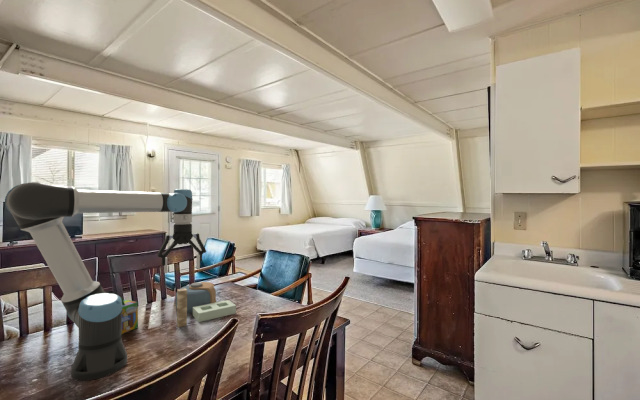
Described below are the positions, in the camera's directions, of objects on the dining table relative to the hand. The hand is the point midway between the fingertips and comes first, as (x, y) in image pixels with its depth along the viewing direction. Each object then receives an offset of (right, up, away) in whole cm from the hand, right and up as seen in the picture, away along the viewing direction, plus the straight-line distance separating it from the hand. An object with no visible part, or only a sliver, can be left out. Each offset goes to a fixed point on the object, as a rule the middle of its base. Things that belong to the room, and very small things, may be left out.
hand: (182, 270), depth 134 cm
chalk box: (-24, -25, -6) cm, 35 cm away
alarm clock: (-4, -25, +24) cm, 35 cm away
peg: (0, -25, 0) cm, 25 cm away
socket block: (+10, -25, +13) cm, 30 cm away
